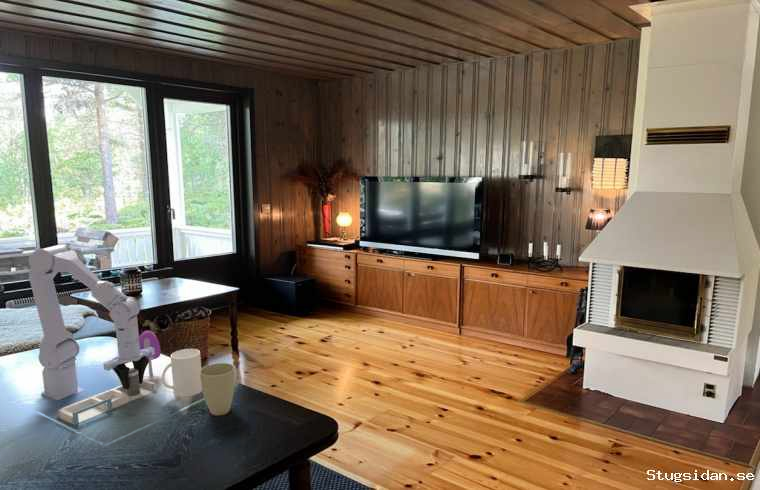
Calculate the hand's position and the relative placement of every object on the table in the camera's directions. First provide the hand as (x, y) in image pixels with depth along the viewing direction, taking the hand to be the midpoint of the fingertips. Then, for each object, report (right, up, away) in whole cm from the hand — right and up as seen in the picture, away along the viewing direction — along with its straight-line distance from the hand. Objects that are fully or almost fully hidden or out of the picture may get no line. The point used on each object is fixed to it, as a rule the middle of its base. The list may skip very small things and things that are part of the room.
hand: (132, 385), depth 153 cm
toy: (-1, -1, +14) cm, 14 cm away
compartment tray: (-4, -4, -5) cm, 8 cm away
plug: (0, -2, 0) cm, 2 cm away
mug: (+14, -3, +1) cm, 15 cm away
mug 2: (+28, -4, -9) cm, 30 cm away
